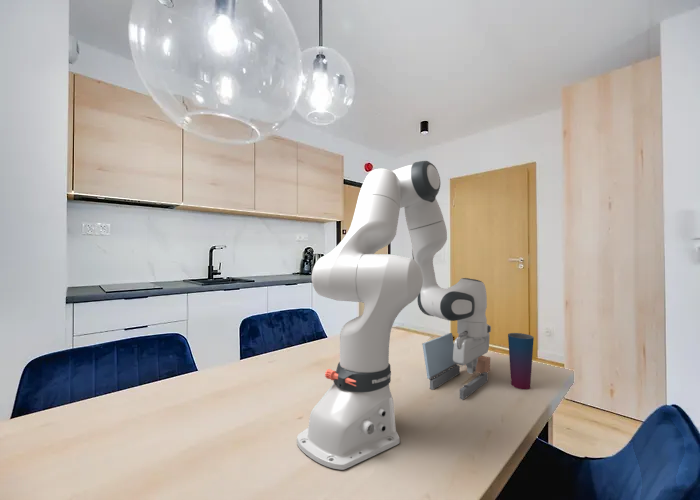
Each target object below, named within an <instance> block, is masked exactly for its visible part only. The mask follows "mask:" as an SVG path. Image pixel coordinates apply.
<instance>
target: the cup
mask: <svg viewBox="0 0 700 500" xmlns="http://www.w3.org/2000/svg"><path fill="white" fill-rule="evenodd" d="M534 339H535V338H534V336H533V335H531V334H529V333H528V334H527V333H522V332H521V333H520V332H510V333H507V340H508V354H509V355H508V356H509V372H510V385H511V386H512V387H513V388H515V389H519V390H530V389H531V382H532V381H531V379H532V367H533V366H532V364H533V356H534V341H535V340H534Z"/></svg>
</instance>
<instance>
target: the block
mask: <svg viewBox="0 0 700 500" xmlns="http://www.w3.org/2000/svg"><path fill="white" fill-rule="evenodd" d="M490 371H491V357H489V356H485V355H482V356H480V357H478V362H477V365H476V371H475V372H474V373H477V374H478V373H479V374H481V373H484V372H487V373H489V372H490Z"/></svg>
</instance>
